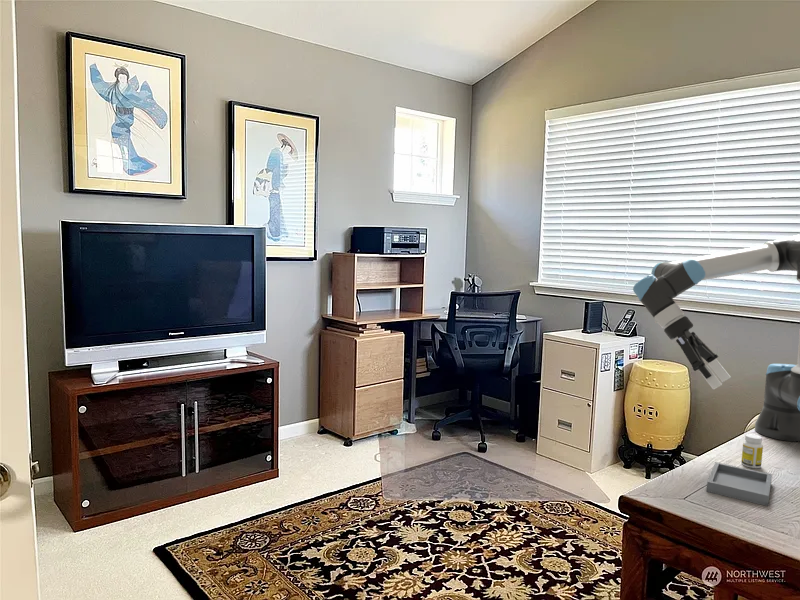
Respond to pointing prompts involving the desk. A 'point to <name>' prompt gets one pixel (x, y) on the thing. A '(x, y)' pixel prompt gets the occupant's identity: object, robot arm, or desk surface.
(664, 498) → the desk surface
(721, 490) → the tray
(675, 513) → the desk surface
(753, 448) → the supplement bottle
